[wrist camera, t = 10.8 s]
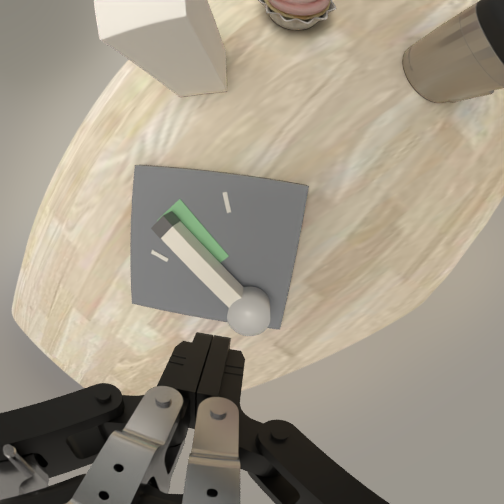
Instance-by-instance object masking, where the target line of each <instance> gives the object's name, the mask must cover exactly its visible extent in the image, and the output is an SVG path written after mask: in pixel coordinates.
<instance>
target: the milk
mask: <svg viewBox="0 0 504 504" xmlns="http://www.w3.org/2000/svg"><path fill="white" fill-rule="evenodd" d="M94 6H95V14H96V20H97V27H98V33H99V38H100V40H101V41H102V42H104V43H105V44H107V45H108V46H110V47H111V48H113V49H114V50H116V51H117V52H119V53H120V54H122V55H123V56H125V57H126V58H127V59H129V60H130V61H132V62H133V63H135V64H136V65H137V66H139V67H140V68H142V69H143V70H144V71H146V72H147V73H149V74H150V75H151V76H153V77H154V78H155V79H157V80H158V81H159V82H161V83H162V84H163V85H165V86H166V87H167V88H169V89H170V90H171V91H173V92H174V93H175V94H176V95H178V96H179V97H185V96H192V95H200V94H208V93H218V92H227V72H226V50H225V47H224V44H223V41H222V39H221V36H220V33H219V30H218V28H217V25H216V22H215V19H214V17H213V14H212V11H211V9H210V6H209V4H208V1H207V0H94Z"/></svg>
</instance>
